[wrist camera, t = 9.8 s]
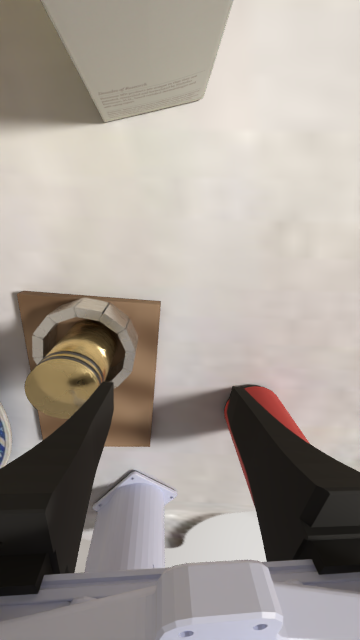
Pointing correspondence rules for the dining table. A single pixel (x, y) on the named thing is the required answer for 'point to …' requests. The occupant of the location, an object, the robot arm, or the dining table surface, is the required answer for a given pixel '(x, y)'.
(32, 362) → the walnut board
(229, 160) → the dining table surface
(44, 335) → the ring collar
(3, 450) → the ceramic plate
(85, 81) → the supplement box
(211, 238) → the dining table surface
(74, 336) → the piston
